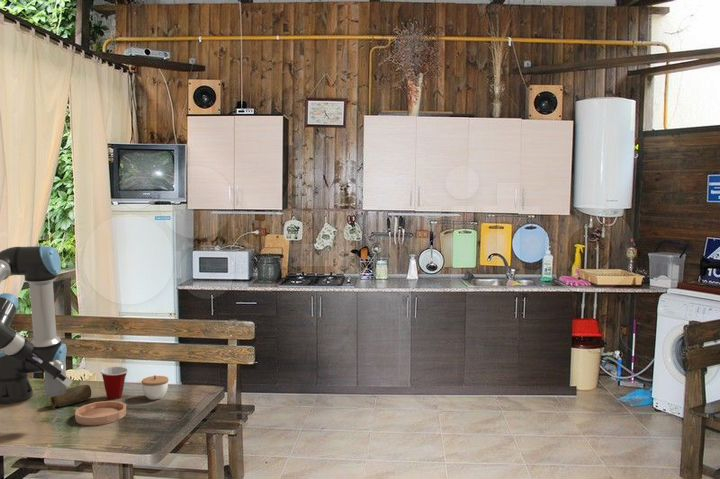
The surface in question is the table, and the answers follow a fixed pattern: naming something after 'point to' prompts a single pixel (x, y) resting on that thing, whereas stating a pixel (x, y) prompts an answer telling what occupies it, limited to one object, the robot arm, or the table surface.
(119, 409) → the terracotta bowl
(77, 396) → the stone weight
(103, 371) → the plastic cup
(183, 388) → the table surface
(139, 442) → the table surface
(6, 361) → the robot arm
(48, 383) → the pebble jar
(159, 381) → the lidded jar
